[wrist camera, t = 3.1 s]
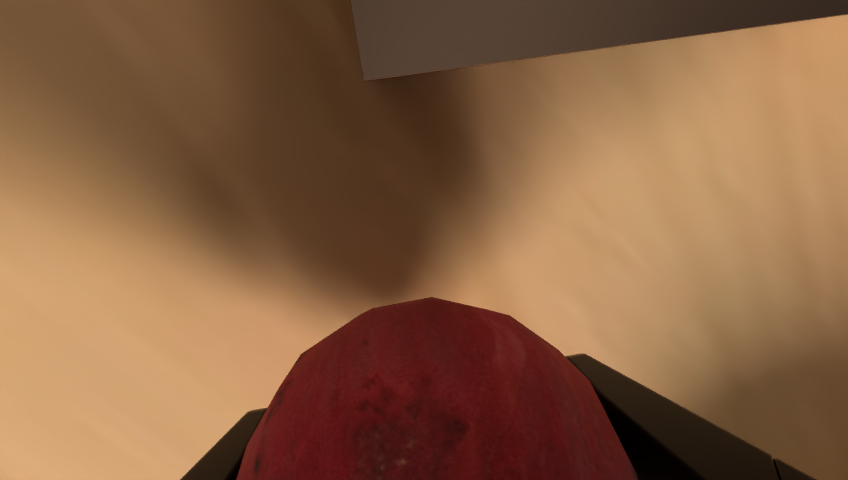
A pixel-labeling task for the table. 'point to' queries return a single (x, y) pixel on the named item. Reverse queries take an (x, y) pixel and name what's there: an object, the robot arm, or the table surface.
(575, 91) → the table surface
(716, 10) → the walnut base
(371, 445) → the onion
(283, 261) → the table surface
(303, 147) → the table surface
